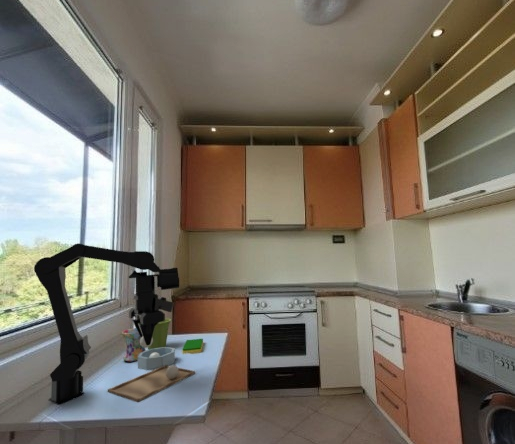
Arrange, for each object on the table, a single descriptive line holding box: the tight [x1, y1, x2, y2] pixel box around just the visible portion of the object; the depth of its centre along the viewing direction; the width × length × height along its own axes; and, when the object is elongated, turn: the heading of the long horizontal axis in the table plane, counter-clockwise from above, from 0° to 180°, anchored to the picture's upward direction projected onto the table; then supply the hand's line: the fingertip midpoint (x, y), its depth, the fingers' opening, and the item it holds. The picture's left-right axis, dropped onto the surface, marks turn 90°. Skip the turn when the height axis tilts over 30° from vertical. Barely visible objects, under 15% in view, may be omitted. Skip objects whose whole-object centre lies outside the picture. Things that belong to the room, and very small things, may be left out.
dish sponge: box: [182, 338, 204, 355], centre depth 118 cm, size 7×14×2 cm, turn 7°
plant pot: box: [147, 318, 172, 350], centre depth 123 cm, size 12×12×11 cm
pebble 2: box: [166, 364, 179, 379], centre depth 86 cm, size 4×4×4 cm
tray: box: [107, 365, 196, 403], centre depth 85 cm, size 20×14×1 cm
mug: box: [121, 327, 147, 363], centre depth 111 cm, size 12×9×11 cm
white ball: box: [149, 352, 160, 357], centre depth 101 cm, size 4×4×4 cm
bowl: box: [137, 346, 176, 371], centre depth 102 cm, size 12×12×4 cm
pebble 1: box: [140, 336, 153, 349], centre depth 87 cm, size 4×4×4 cm
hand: (146, 343), depth 87 cm, fingers closed on pebble 1, 4 cm apart
